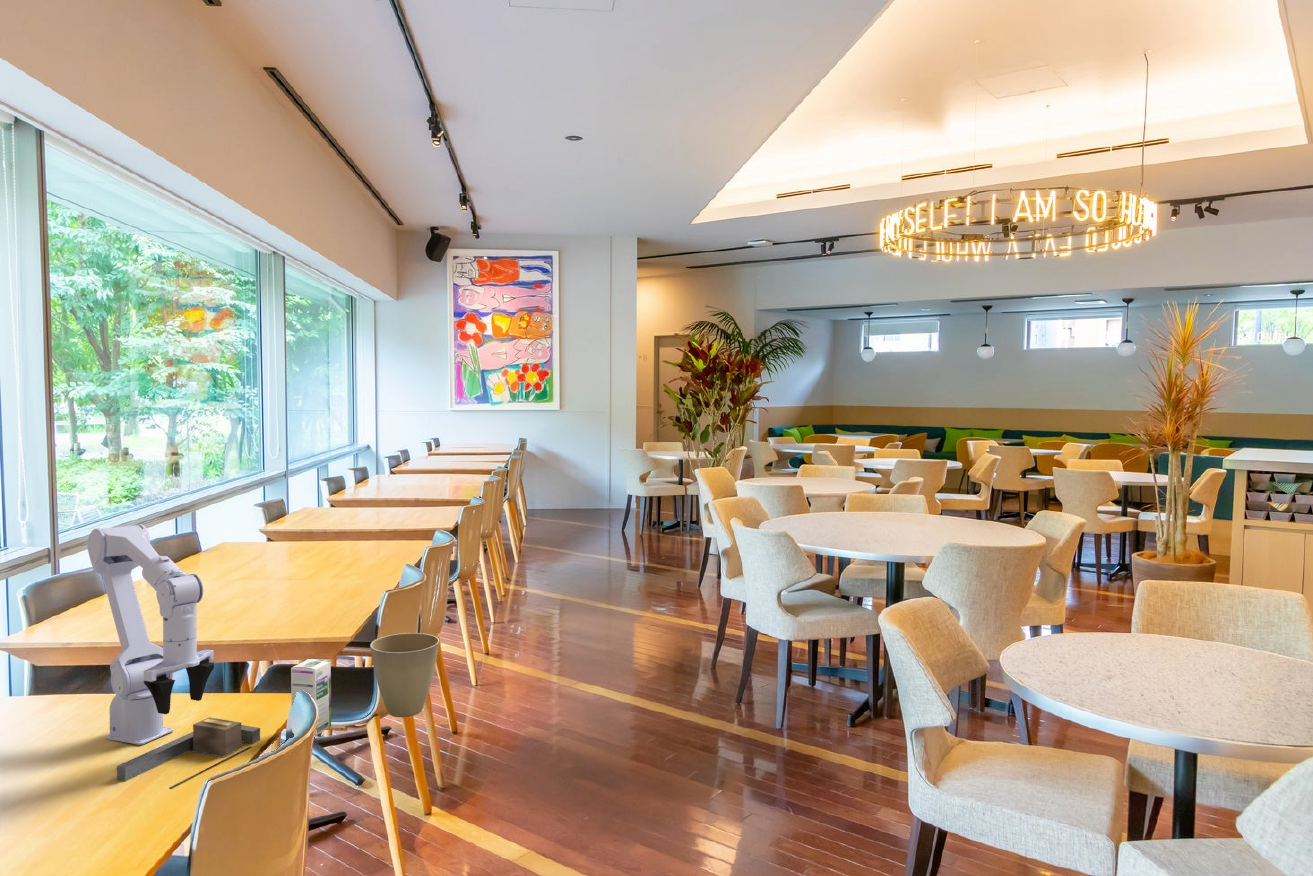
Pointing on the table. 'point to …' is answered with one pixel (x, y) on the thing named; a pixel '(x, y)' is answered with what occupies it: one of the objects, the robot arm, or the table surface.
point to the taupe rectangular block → (217, 736)
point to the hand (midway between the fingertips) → (180, 706)
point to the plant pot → (404, 670)
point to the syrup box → (314, 687)
